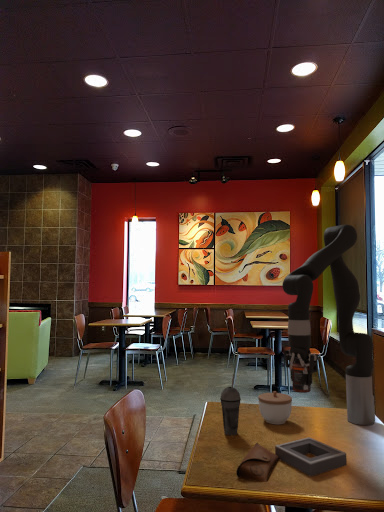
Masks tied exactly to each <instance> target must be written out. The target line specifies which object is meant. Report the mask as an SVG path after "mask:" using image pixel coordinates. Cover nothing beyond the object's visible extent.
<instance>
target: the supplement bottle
mask: <svg viewBox="0 0 384 512" xmlns="http://www.w3.org/2000/svg"><path fill="white" fill-rule="evenodd" d="M294 361H295V362H294V363H293V364H292V381H291V382H292V383H291V384H292V391H293V392H295V393H299V394H300V393H301V394H302V393H303V394H307V393H310V392H311V389H312V384H311V385H308V386H307V385H306V384H305V374H306V373H305V371H304V368H303V367H302V366H301V363H300V360H299V359H298V357H295V359H294ZM305 364H307V363H305ZM307 369H308V370H309V367H308V366H307Z"/></svg>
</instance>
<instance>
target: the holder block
mask: <svg viewBox="0 0 384 512" xmlns="http://www.w3.org/2000/svg"><path fill="white" fill-rule="evenodd" d="M274 451H275V453H274V454H276V455H277V456H279V461H282V462H283V463H285V464H287V465H289V466H291V467H292V468H294V469H297V470H298V471H300V472H302V473H304V474H305V475H307V476H309V477H313V476H316V475H320V474H323V473H326V472H330V471H332V470H335V469H339V468H343V467H345V466H347V452H345V451H342V450H340V449H338V448H335V447H333V446H331V445H329V444H326V443H324V442H321V441H319V440H317V439H314V438H312V437H304V438H300V439H297V440H293V441H288V442H283V443H281V444H276V445H275V446H274ZM309 454H310V455H313V457H308V456H307V455H309Z"/></svg>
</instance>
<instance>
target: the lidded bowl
mask: <svg viewBox="0 0 384 512" xmlns="http://www.w3.org/2000/svg"><path fill="white" fill-rule="evenodd" d="M257 398H258V408H259V413H260V415H261V417H262V418H263V420H265V422H266V423H267V424H270V425H284V424H285V423H286V421H288V419H289V418H290V416H291V414H292V407H293V406H292V405H293V404H292V403H293V402H292V401H293V398H292V396H291V395H288V394H285V393H281V392H277V391H276V390H274V391H272V392H264V393H261V394H259V395H258V396H257Z"/></svg>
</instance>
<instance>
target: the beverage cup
mask: <svg viewBox="0 0 384 512" xmlns="http://www.w3.org/2000/svg"><path fill="white" fill-rule="evenodd" d="M234 382H235V373H234V374H232V381H231V386H227V387H224V389H223V390H222V392H221V394H220V406H221V410H222V411H221V413H222V423H223V424H222V425H223V432H224V434H225V435H227V436H236V435H238V430H239V416H240V406H241V400H242V399H241V394H240V392H239V390H238V389H237V388H235V387H234Z"/></svg>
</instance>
